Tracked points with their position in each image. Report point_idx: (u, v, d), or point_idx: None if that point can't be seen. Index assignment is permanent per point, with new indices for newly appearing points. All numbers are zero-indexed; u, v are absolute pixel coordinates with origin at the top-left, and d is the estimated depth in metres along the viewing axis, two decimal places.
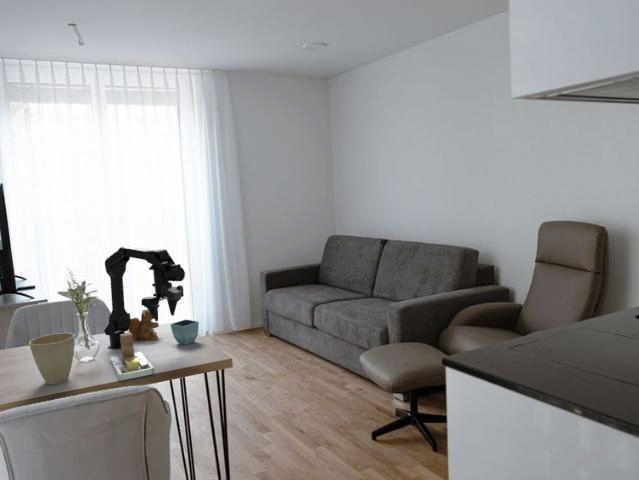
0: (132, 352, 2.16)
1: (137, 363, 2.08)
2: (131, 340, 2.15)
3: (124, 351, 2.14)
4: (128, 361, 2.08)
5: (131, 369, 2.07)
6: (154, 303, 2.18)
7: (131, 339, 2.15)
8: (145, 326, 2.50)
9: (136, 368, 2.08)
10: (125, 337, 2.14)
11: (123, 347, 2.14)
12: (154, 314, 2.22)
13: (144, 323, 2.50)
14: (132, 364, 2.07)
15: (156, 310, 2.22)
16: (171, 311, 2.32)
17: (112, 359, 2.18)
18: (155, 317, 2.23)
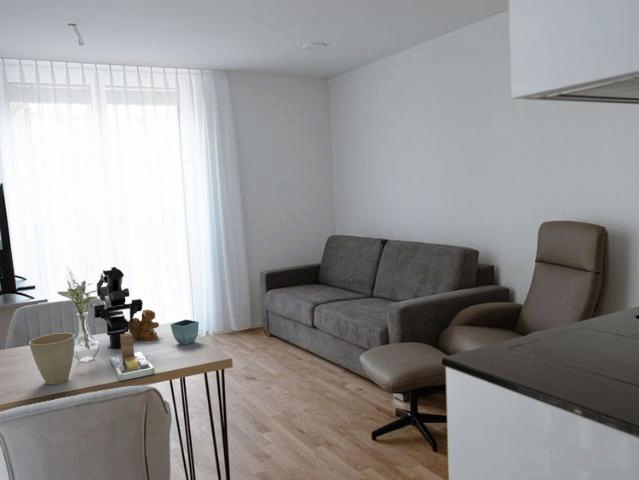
0: (132, 352, 2.16)
1: (137, 363, 2.08)
2: (131, 340, 2.15)
3: (124, 351, 2.14)
4: (128, 361, 2.08)
5: (131, 369, 2.07)
6: (97, 307, 2.23)
7: (131, 339, 2.15)
8: (146, 326, 2.50)
9: (136, 368, 2.08)
10: (125, 337, 2.14)
11: (123, 347, 2.14)
12: (108, 321, 2.24)
13: (144, 323, 2.50)
14: (132, 364, 2.07)
15: (107, 315, 2.24)
16: (130, 320, 2.28)
17: (112, 359, 2.18)
18: (109, 323, 2.24)
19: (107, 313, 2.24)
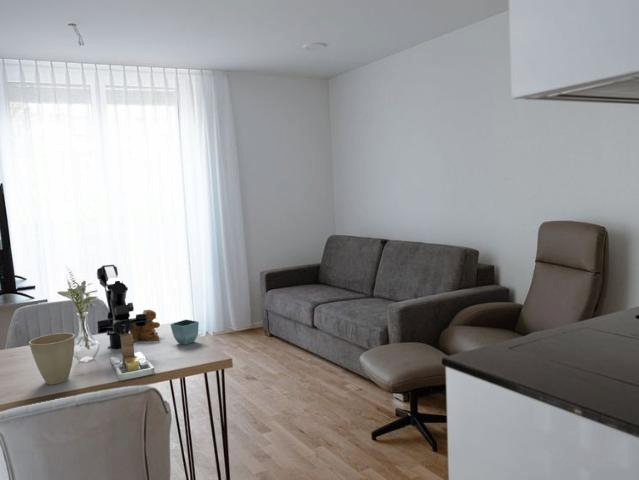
0: (132, 353, 2.15)
1: (137, 363, 2.07)
2: (131, 340, 2.15)
3: (124, 352, 2.14)
4: (128, 362, 2.08)
5: (131, 369, 2.06)
6: (101, 322, 2.16)
7: (131, 339, 2.14)
8: (146, 326, 2.49)
9: (136, 368, 2.07)
10: (125, 337, 2.13)
11: (123, 348, 2.13)
12: None
13: None
14: (132, 364, 2.07)
15: (120, 329, 2.19)
16: None
17: (112, 359, 2.18)
18: None
19: (120, 327, 2.19)
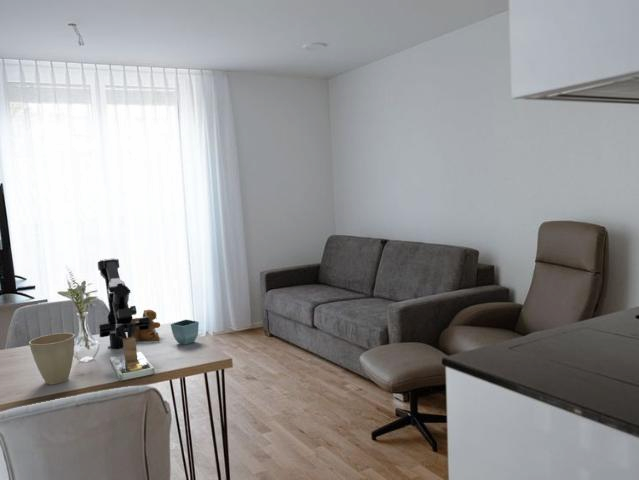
0: (135, 357, 2.09)
1: (140, 369, 2.01)
2: (134, 345, 2.09)
3: (127, 356, 2.08)
4: (131, 367, 2.02)
5: None
6: (103, 326, 2.10)
7: (134, 344, 2.09)
8: None
9: None
10: (128, 342, 2.07)
11: (126, 352, 2.07)
12: None
13: None
14: (135, 370, 2.01)
15: (123, 333, 2.13)
16: None
17: (112, 359, 2.18)
18: None
19: (123, 331, 2.13)
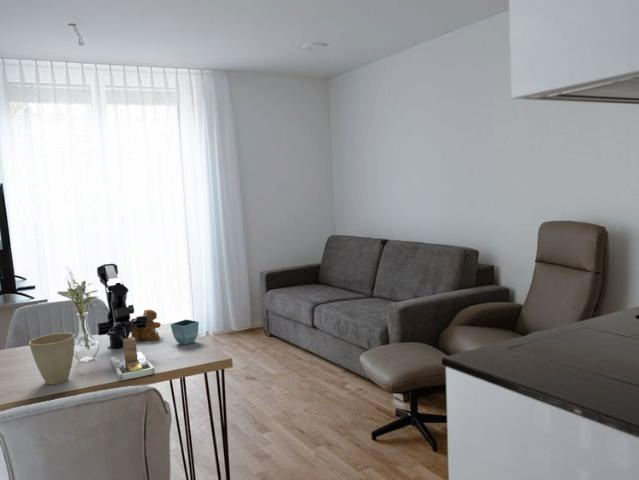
0: (135, 357, 2.09)
1: (140, 369, 2.01)
2: (134, 345, 2.08)
3: (127, 356, 2.08)
4: (131, 367, 2.02)
5: None
6: (101, 325, 2.16)
7: (134, 344, 2.08)
8: (147, 326, 2.49)
9: None
10: (128, 342, 2.07)
11: (126, 352, 2.07)
12: (121, 337, 2.18)
13: None
14: (136, 370, 2.00)
15: (121, 332, 2.18)
16: None
17: (112, 359, 2.18)
18: None
19: (121, 329, 2.18)
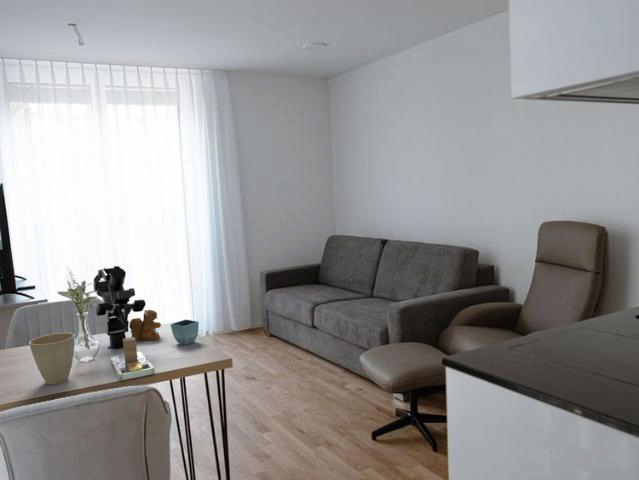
0: (135, 357, 2.09)
1: (140, 369, 2.01)
2: (134, 345, 2.08)
3: (127, 356, 2.08)
4: (131, 367, 2.02)
5: None
6: (102, 305, 2.21)
7: (134, 344, 2.08)
8: (148, 327, 2.49)
9: None
10: (128, 342, 2.07)
11: (126, 352, 2.07)
12: (121, 318, 2.25)
13: (146, 323, 2.50)
14: (136, 370, 2.00)
15: (120, 313, 2.25)
16: None
17: (112, 359, 2.18)
18: (122, 321, 2.25)
19: (120, 311, 2.25)
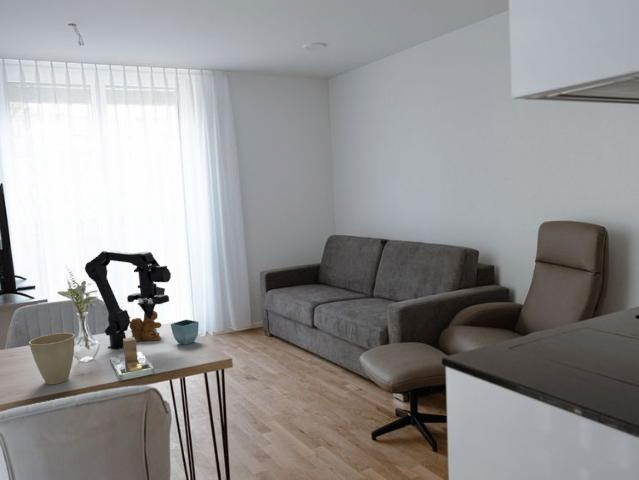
0: (135, 357, 2.09)
1: (140, 369, 2.01)
2: (134, 345, 2.08)
3: (127, 356, 2.08)
4: (131, 367, 2.02)
5: None
6: None
7: (134, 344, 2.08)
8: (148, 327, 2.49)
9: None
10: (128, 342, 2.07)
11: (126, 352, 2.07)
12: (151, 311, 2.35)
13: (147, 323, 2.50)
14: (136, 370, 2.00)
15: None
16: None
17: (112, 359, 2.18)
18: (151, 314, 2.35)
19: None
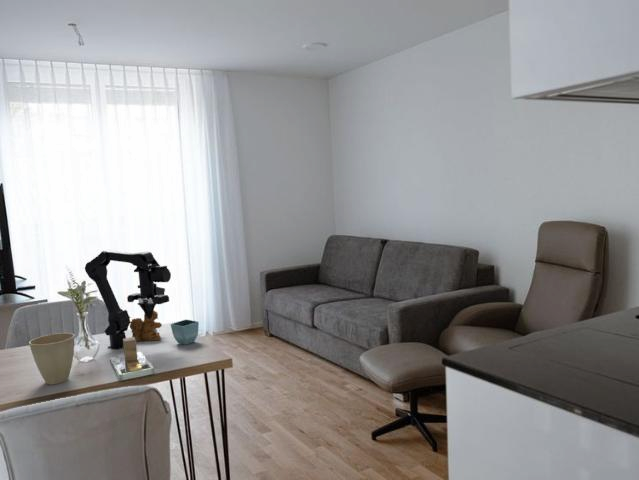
0: (135, 357, 2.09)
1: (140, 369, 2.01)
2: (134, 345, 2.08)
3: (127, 356, 2.08)
4: (131, 367, 2.02)
5: None
6: None
7: (134, 344, 2.08)
8: (148, 327, 2.49)
9: None
10: (128, 342, 2.07)
11: (126, 352, 2.07)
12: (151, 311, 2.35)
13: (147, 323, 2.50)
14: (136, 370, 2.00)
15: None
16: None
17: (112, 359, 2.18)
18: (151, 314, 2.35)
19: None
